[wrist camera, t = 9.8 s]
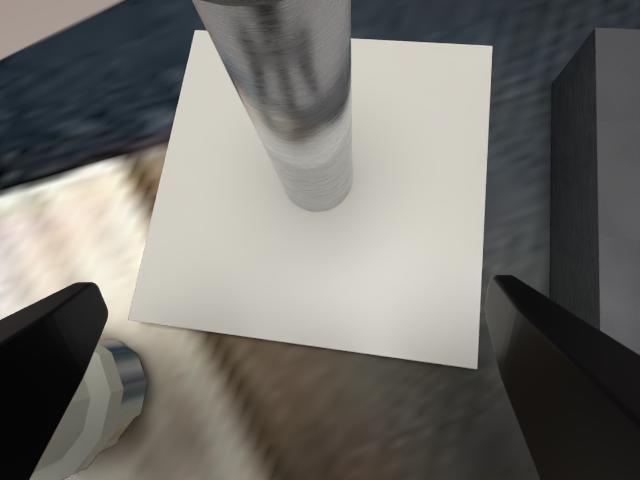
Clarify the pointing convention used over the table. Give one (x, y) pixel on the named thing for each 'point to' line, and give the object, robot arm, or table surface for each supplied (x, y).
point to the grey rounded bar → (95, 411)
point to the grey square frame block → (598, 185)
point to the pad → (330, 214)
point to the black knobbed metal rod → (293, 87)
